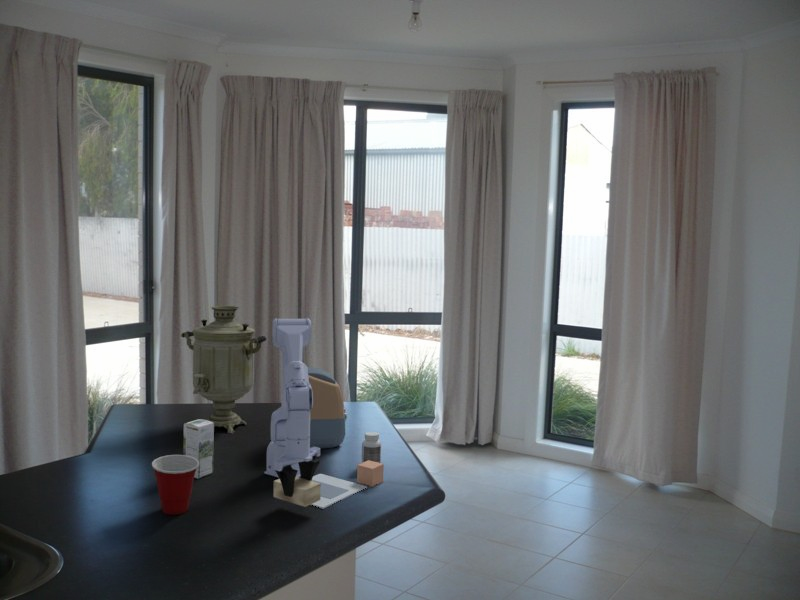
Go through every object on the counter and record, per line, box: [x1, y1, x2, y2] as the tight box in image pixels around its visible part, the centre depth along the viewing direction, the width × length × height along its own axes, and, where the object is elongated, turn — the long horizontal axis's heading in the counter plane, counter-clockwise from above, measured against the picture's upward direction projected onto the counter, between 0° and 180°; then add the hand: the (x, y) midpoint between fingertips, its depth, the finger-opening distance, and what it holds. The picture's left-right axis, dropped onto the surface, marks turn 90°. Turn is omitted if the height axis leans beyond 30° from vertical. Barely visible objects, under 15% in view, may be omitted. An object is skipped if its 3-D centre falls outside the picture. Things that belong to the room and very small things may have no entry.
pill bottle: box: [361, 431, 382, 463], centre depth 213 cm, size 5×5×10 cm
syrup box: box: [182, 418, 215, 479], centre depth 203 cm, size 6×6×14 cm
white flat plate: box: [309, 473, 368, 510], centre depth 194 cm, size 16×18×1 cm
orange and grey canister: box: [307, 366, 346, 449], centre depth 233 cm, size 17×17×23 cm
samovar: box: [180, 305, 267, 434], centre depth 244 cm, size 30×26×40 cm
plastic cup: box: [151, 454, 199, 516], centre depth 178 cm, size 11×11×12 cm
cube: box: [356, 460, 384, 487], centre depth 201 cm, size 5×5×5 cm
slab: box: [273, 477, 321, 508], centre depth 179 cm, size 10×6×4 cm, turn 56°
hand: (297, 491), depth 179 cm, fingers closed on slab, 5 cm apart
